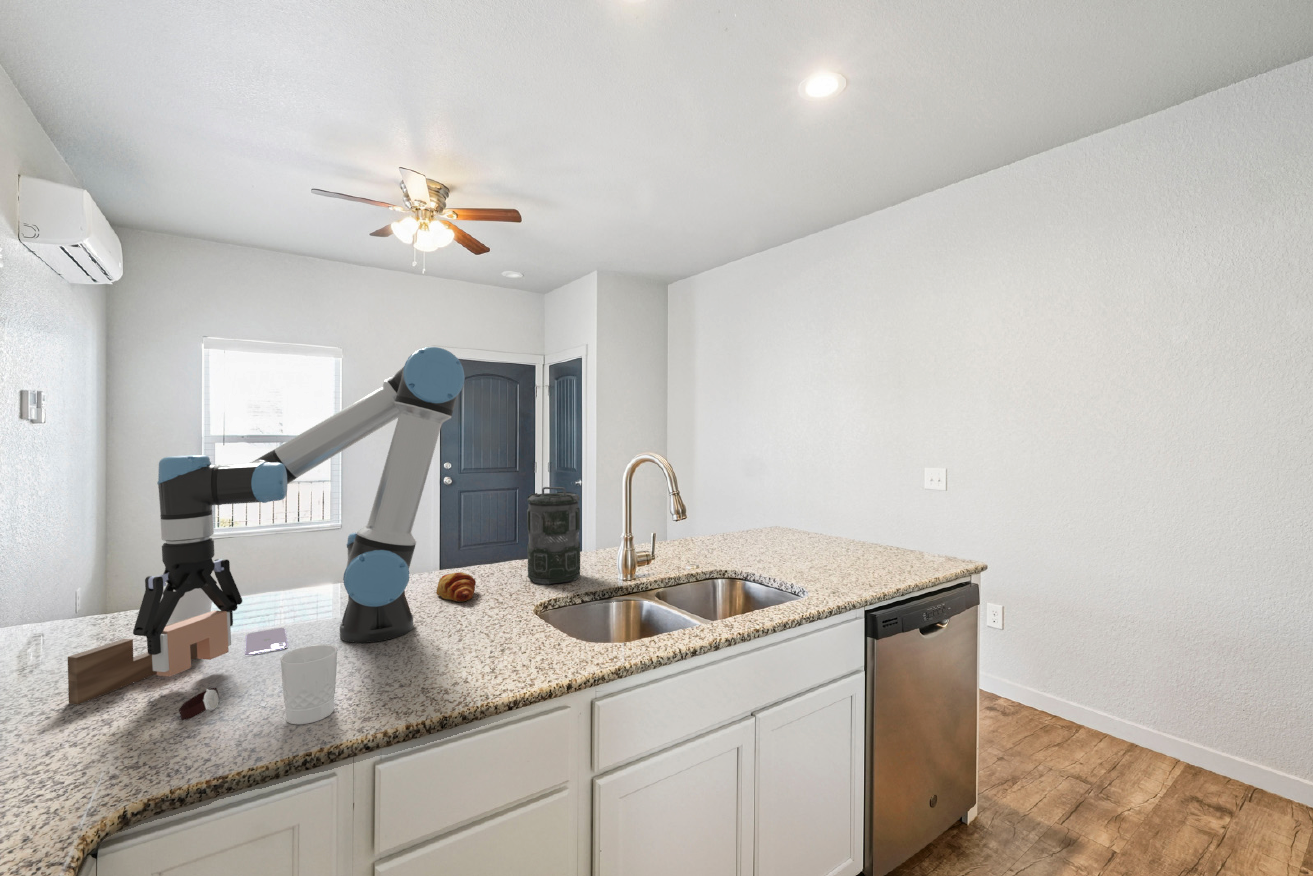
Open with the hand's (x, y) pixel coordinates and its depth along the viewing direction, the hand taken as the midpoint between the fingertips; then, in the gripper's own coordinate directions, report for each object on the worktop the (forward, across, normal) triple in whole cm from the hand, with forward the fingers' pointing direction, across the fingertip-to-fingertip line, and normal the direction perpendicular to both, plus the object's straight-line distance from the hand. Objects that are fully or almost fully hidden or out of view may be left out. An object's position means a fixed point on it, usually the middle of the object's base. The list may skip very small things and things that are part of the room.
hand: (194, 657), depth 109 cm
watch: (+5, +9, +12) cm, 16 cm away
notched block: (+1, 0, 0) cm, 1 cm away
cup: (+4, -17, -22) cm, 28 cm away
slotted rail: (+4, +1, -10) cm, 11 cm away
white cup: (+5, +6, +32) cm, 33 cm away
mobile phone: (+5, -19, -4) cm, 20 cm away
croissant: (+6, -59, +17) cm, 62 cm away
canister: (+6, -82, +36) cm, 90 cm away
